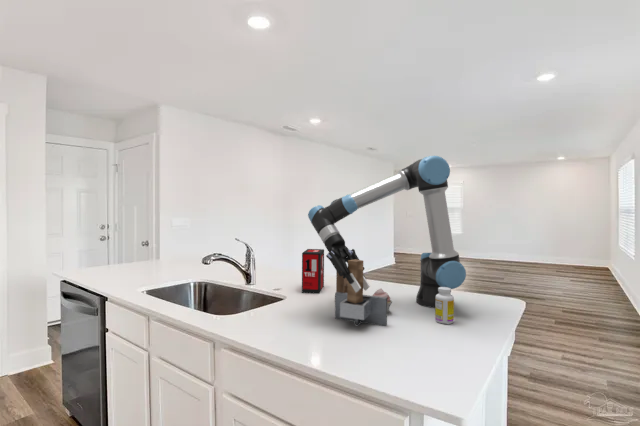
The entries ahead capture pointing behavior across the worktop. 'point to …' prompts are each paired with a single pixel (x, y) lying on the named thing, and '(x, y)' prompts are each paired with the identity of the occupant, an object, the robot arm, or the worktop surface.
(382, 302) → the cup bracket
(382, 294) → the cupcake
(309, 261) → the cleaning product box
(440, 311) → the supplement bottle
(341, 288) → the brown wooden piece
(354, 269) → the post
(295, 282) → the worktop surface
